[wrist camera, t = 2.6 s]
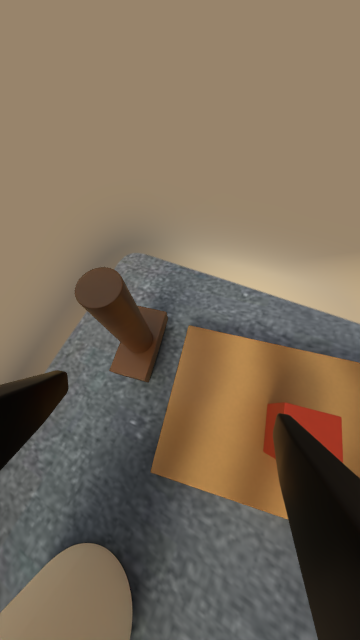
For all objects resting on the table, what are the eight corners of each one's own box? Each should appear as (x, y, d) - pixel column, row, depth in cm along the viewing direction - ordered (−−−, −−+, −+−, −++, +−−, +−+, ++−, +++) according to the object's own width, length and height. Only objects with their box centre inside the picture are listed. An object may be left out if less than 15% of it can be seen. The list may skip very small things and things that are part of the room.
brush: (151, 384, 22) (102, 354, 10) (120, 375, 23) (39, 337, 11) (169, 323, 25) (147, 243, 13) (141, 317, 25) (95, 235, 13)
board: (153, 467, 19) (150, 472, 18) (189, 330, 24) (188, 325, 23) (371, 541, 16) (388, 553, 15) (358, 367, 21) (370, 364, 20)
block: (262, 451, 18) (280, 462, 14) (267, 403, 19) (284, 401, 16) (312, 466, 17) (344, 482, 14) (312, 415, 19) (341, 416, 15)
